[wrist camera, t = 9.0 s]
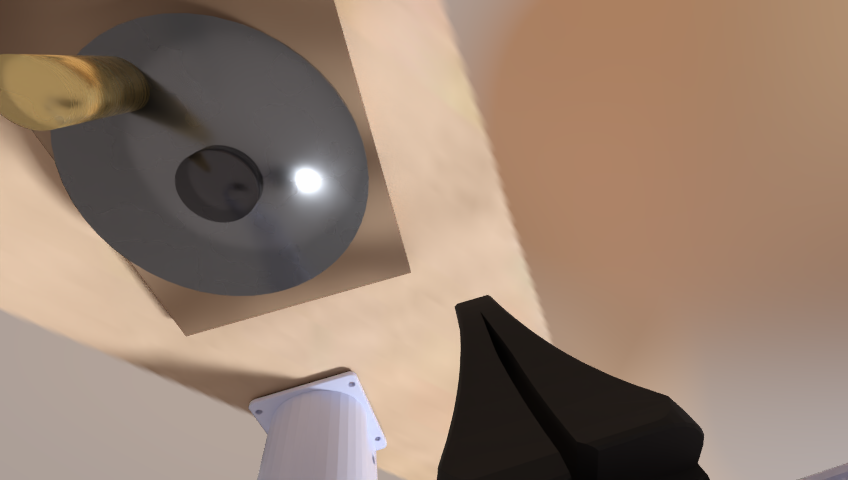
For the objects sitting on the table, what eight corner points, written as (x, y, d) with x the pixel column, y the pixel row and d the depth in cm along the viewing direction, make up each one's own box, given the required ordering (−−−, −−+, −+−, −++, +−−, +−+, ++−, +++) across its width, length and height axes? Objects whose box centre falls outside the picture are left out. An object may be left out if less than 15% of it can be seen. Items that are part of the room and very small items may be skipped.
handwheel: (417, 192, 19) (438, 236, 14) (244, 323, 21) (211, 401, 16) (214, -65, 13) (132, -139, 8) (-4, 150, 15) (-175, 193, 10)
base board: (408, 262, 23) (410, 272, 22) (194, 323, 22) (185, 336, 21) (313, -72, 15) (310, -82, 14) (-32, 7, 14) (-64, 2, 13)
